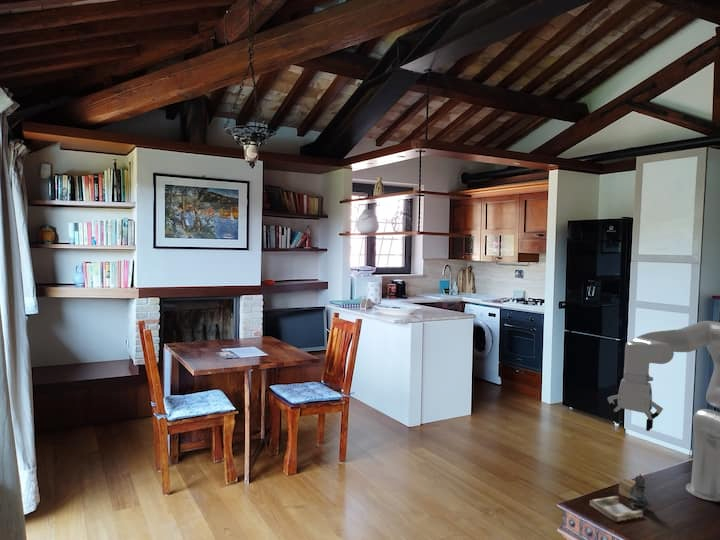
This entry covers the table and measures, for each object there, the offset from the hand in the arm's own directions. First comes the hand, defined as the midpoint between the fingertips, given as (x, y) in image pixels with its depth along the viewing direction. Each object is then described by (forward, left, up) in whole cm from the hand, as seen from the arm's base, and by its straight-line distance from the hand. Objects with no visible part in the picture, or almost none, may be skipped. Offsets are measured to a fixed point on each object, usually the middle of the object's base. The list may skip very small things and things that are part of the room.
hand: (633, 426), depth 182 cm
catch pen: (+6, +1, -29) cm, 30 cm away
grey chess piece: (-4, +1, -29) cm, 30 cm away
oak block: (-8, -7, -29) cm, 31 cm away
